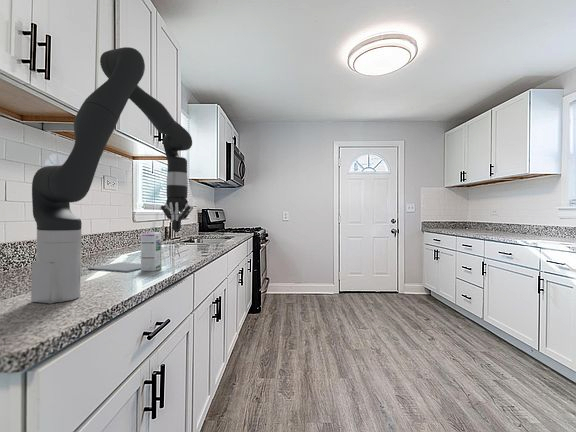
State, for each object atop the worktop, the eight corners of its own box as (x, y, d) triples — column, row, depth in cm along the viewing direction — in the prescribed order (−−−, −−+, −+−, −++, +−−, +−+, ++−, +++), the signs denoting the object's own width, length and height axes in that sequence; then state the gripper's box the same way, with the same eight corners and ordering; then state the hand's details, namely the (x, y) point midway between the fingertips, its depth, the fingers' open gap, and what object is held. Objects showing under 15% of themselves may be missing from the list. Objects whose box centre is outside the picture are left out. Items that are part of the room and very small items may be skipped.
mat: (127, 272, 122) (127, 270, 122) (87, 269, 127) (87, 267, 127) (155, 266, 138) (155, 264, 138) (119, 263, 142) (119, 262, 142)
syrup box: (155, 271, 126) (156, 232, 126) (140, 270, 126) (140, 232, 126) (161, 268, 132) (162, 232, 132) (146, 268, 132) (147, 231, 132)
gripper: (155, 184, 124) (155, 230, 124) (187, 183, 120) (186, 231, 120) (168, 185, 131) (167, 229, 131) (198, 185, 128) (197, 230, 128)
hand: (176, 230), depth 126 cm, fingers closed
